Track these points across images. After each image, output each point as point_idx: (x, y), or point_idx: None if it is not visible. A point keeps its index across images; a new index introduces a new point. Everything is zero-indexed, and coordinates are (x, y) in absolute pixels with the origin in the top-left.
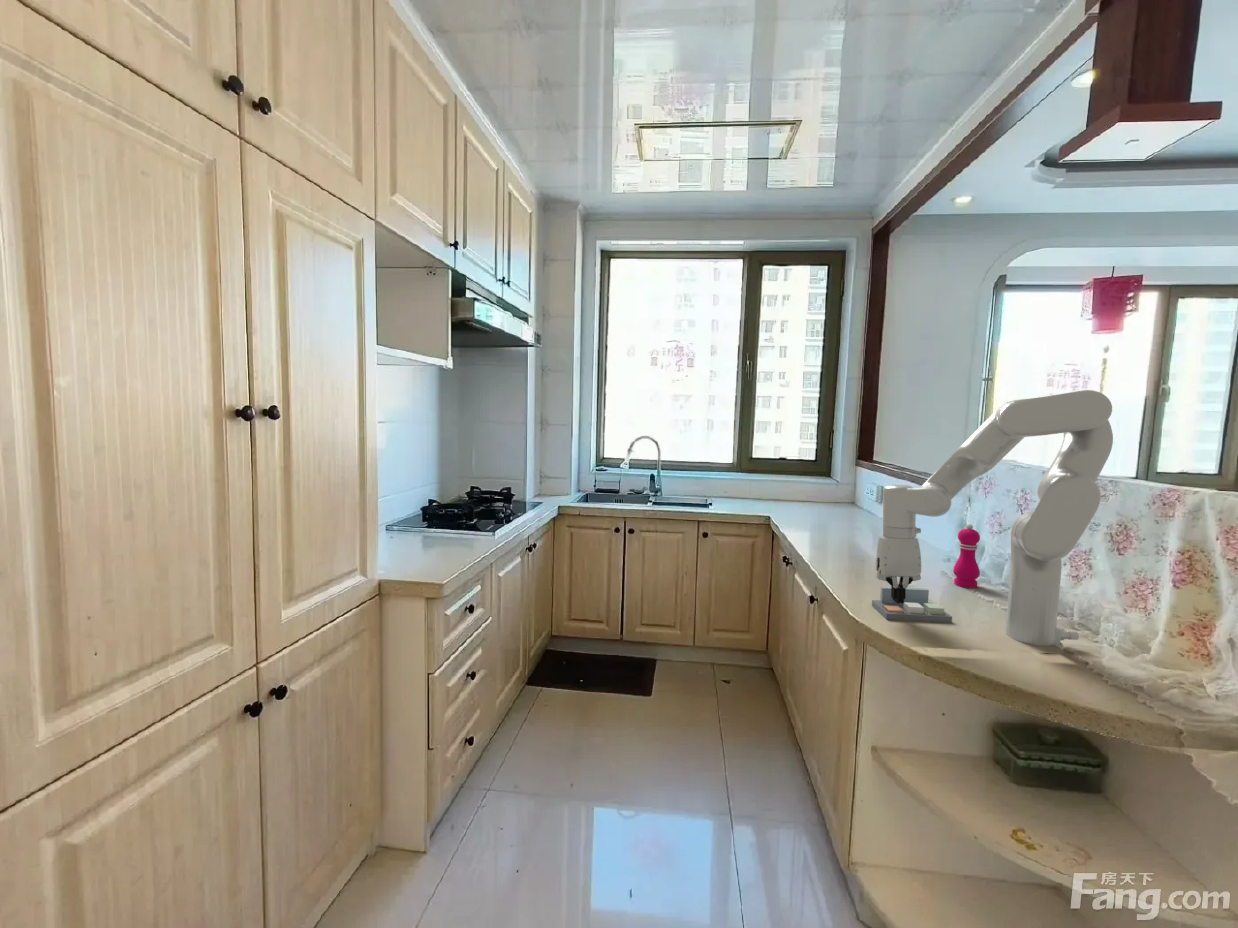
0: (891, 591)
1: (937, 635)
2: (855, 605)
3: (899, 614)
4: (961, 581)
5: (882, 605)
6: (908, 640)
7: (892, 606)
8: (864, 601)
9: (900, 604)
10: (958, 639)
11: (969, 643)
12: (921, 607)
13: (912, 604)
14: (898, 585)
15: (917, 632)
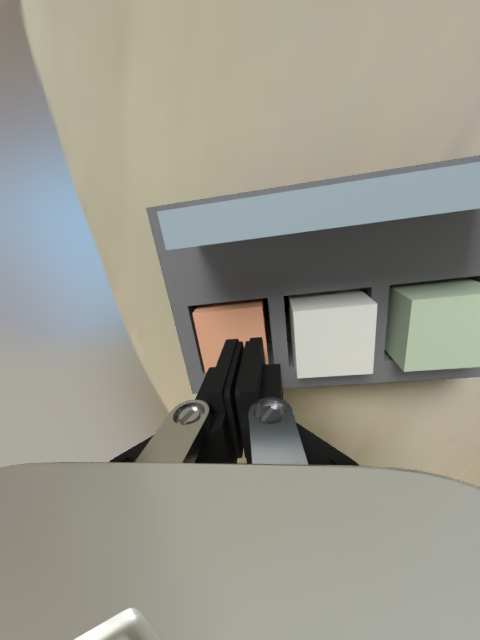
0: (201, 390)
1: (349, 418)
2: (95, 137)
3: None
4: None
5: (191, 291)
6: (244, 461)
7: (233, 318)
8: (142, 18)
9: (293, 246)
10: (404, 435)
11: (420, 456)
12: (359, 374)
13: (330, 339)
14: (243, 417)
15: (292, 407)
